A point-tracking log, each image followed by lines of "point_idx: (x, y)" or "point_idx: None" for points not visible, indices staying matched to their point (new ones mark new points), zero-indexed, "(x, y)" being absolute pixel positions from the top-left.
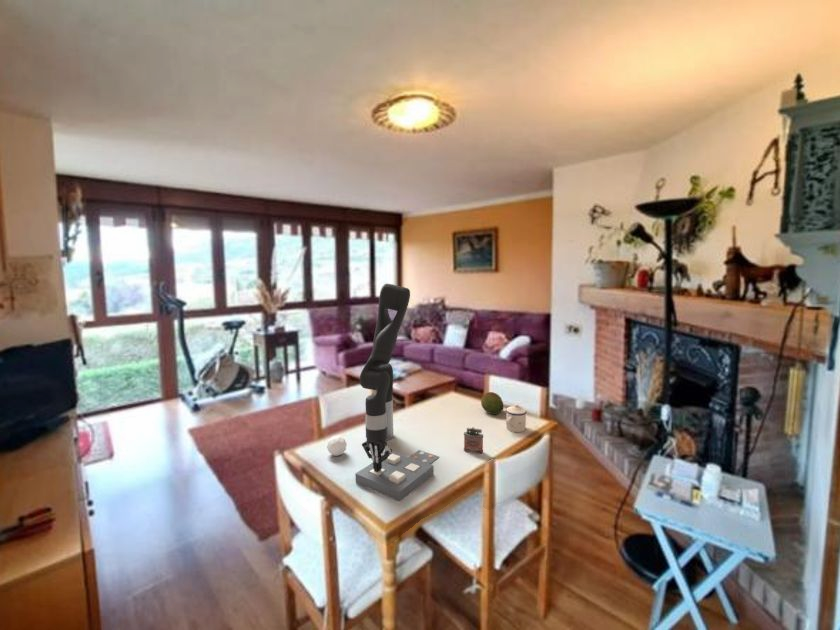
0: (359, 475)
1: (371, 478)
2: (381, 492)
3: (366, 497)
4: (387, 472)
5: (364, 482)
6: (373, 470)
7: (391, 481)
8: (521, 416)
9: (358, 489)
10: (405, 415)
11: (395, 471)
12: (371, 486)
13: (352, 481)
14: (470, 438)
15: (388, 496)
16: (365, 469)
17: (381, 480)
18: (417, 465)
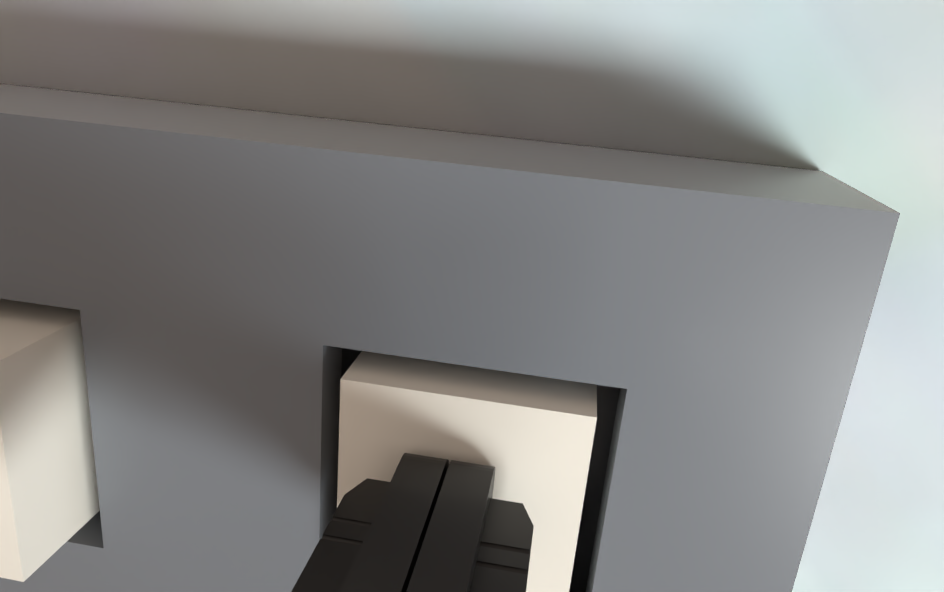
0: (744, 195)
1: (389, 210)
2: (172, 105)
3: None
4: (255, 530)
5: (580, 158)
6: (530, 478)
7: (8, 314)
8: None
9: (632, 3)
10: None
11: (9, 553)
12: (394, 135)
13: (915, 178)
14: None
15: (39, 88)
16: (747, 462)
17: (158, 244)
18: None
